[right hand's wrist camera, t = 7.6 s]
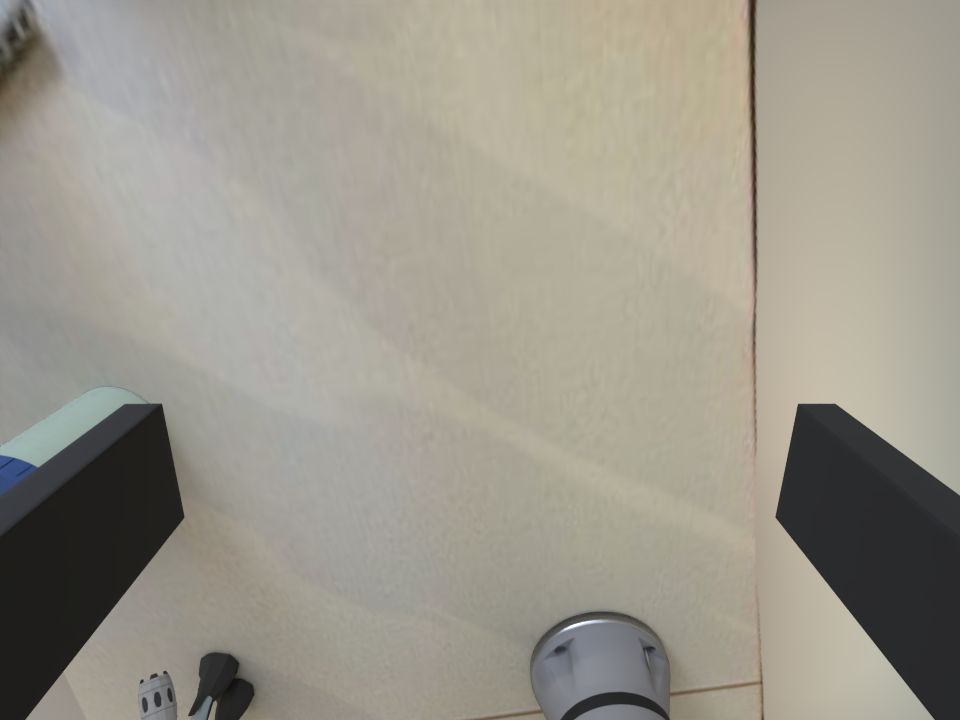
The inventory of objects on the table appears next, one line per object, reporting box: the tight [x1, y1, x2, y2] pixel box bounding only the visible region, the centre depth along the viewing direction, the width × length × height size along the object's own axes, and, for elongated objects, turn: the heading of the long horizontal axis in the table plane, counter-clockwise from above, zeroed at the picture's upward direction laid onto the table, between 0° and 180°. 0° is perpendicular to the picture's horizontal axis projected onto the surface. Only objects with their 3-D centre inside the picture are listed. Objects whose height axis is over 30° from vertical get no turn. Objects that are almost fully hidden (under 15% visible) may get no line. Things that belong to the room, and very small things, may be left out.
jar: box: [0, 387, 148, 467], centre depth 50 cm, size 9×9×16 cm
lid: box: [0, 455, 38, 495], centre depth 44 cm, size 10×10×2 cm
